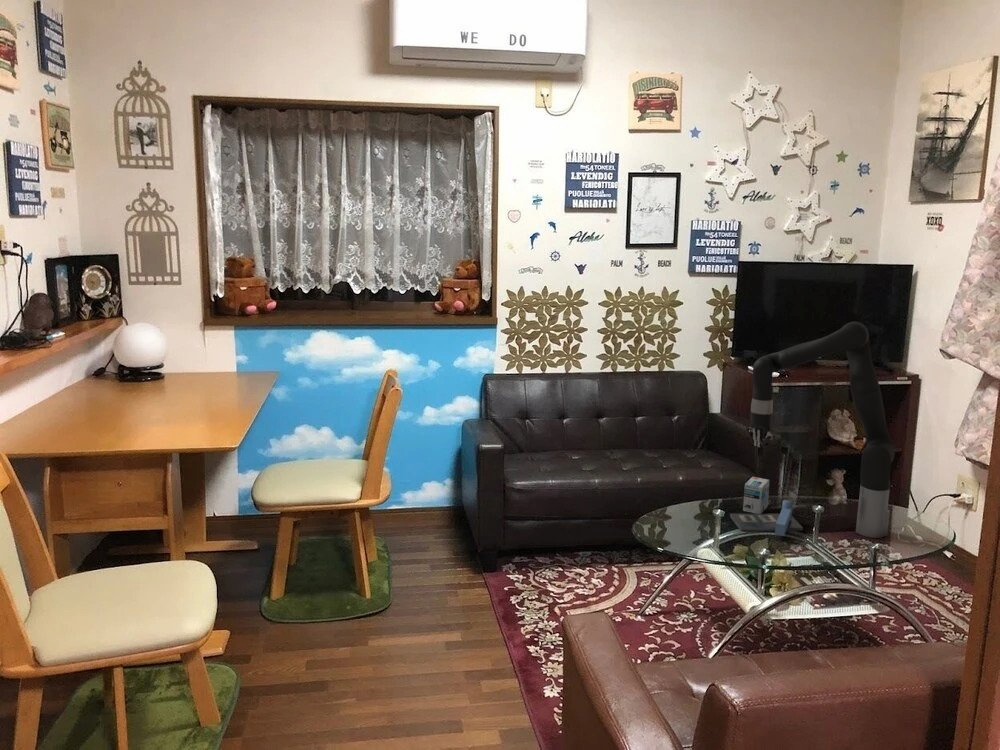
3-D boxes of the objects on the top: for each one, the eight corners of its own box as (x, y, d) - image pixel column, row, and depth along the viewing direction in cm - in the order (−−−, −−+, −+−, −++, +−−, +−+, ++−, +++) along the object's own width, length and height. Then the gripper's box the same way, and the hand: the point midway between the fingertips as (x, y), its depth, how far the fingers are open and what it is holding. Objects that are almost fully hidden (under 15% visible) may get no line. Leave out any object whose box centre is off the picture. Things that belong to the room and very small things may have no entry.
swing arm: (782, 514, 292) (783, 499, 290) (792, 516, 290) (793, 500, 289) (773, 534, 274) (775, 517, 273) (784, 536, 273) (786, 519, 271)
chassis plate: (789, 516, 294) (789, 512, 294) (802, 530, 282) (803, 526, 281) (730, 516, 294) (730, 512, 294) (740, 530, 282) (741, 526, 281)
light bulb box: (760, 515, 296) (762, 487, 294) (742, 511, 300) (744, 484, 297) (768, 506, 305) (770, 479, 303) (750, 502, 308) (752, 476, 306)
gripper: (741, 407, 296) (738, 452, 299) (766, 416, 284) (763, 462, 287) (756, 405, 299) (754, 450, 302) (782, 413, 287) (779, 459, 290)
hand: (758, 456), depth 295 cm, fingers closed
